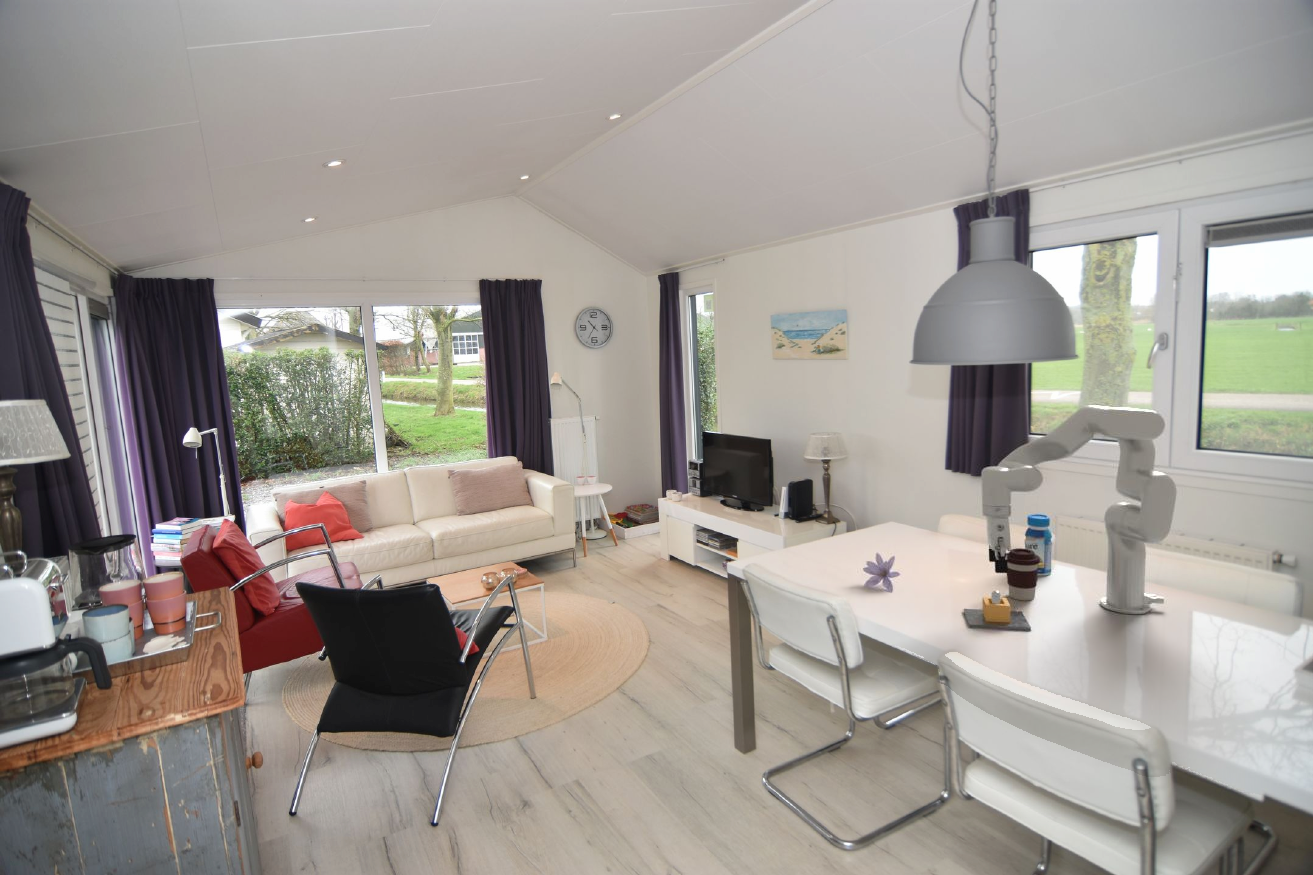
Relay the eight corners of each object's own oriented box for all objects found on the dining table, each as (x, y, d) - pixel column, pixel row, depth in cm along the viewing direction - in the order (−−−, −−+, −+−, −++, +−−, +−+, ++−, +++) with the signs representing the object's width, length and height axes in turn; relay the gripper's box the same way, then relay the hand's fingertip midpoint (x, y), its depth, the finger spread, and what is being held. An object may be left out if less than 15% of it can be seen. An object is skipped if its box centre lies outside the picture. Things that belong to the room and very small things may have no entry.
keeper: (1021, 614, 210) (1021, 584, 209) (1030, 630, 199) (1031, 599, 197) (963, 611, 215) (963, 582, 213) (969, 627, 203) (969, 596, 202)
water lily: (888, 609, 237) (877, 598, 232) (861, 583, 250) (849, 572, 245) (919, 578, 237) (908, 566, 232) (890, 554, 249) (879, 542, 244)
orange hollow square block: (1005, 613, 209) (1006, 597, 208) (1010, 622, 203) (1010, 605, 202) (982, 612, 210) (982, 596, 210) (986, 621, 204) (986, 604, 204)
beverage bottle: (1056, 575, 240) (1057, 518, 237) (1031, 576, 240) (1032, 519, 238) (1043, 567, 248) (1044, 512, 246) (1019, 569, 249) (1020, 513, 246)
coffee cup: (1044, 602, 218) (1044, 556, 216) (1009, 602, 220) (1009, 555, 218) (1033, 591, 227) (1034, 546, 225) (1000, 591, 229) (1000, 546, 227)
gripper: (1017, 517, 193) (1018, 577, 195) (1005, 502, 209) (1006, 557, 212) (987, 517, 195) (989, 577, 197) (977, 502, 211) (979, 557, 214)
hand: (998, 566), depth 205 cm, fingers open, 9 cm apart
